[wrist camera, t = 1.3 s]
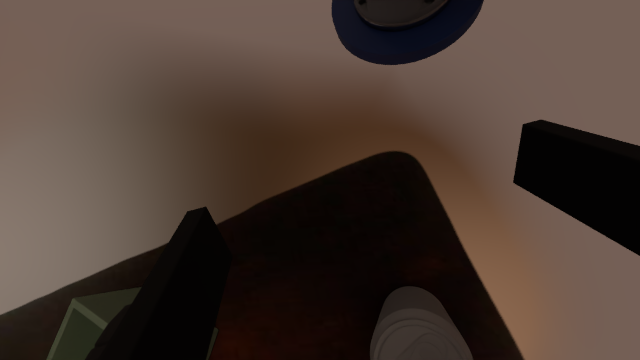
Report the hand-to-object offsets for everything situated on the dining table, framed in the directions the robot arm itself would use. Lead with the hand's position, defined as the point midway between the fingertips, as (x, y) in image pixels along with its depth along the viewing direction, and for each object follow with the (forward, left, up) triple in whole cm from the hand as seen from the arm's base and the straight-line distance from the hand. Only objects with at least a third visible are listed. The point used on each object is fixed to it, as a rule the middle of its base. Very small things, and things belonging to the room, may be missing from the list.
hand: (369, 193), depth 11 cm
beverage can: (+9, +4, -20) cm, 22 cm away
